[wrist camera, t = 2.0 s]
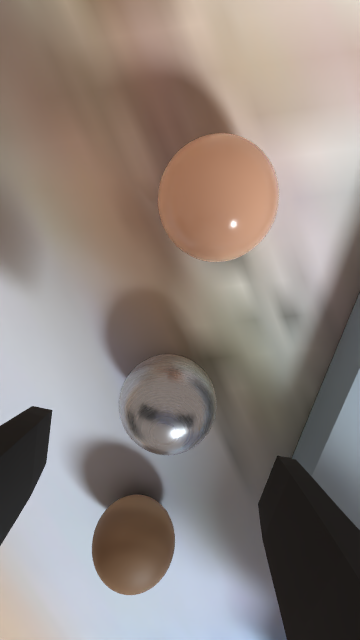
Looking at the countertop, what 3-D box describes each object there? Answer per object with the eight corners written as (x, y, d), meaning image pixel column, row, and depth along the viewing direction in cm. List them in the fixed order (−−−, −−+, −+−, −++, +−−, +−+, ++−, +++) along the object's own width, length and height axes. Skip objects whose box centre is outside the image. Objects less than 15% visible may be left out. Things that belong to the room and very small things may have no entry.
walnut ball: (167, 538, 18) (162, 623, 14) (99, 525, 18) (75, 608, 14) (183, 484, 17) (182, 562, 13) (109, 470, 17) (86, 544, 13)
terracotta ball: (246, 265, 13) (270, 283, 9) (153, 243, 13) (139, 252, 9) (276, 162, 12) (317, 135, 8) (174, 137, 12) (167, 98, 8)
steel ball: (201, 422, 16) (205, 488, 12) (122, 406, 15) (100, 467, 12) (222, 350, 14) (234, 397, 11) (136, 331, 14) (118, 372, 10)
